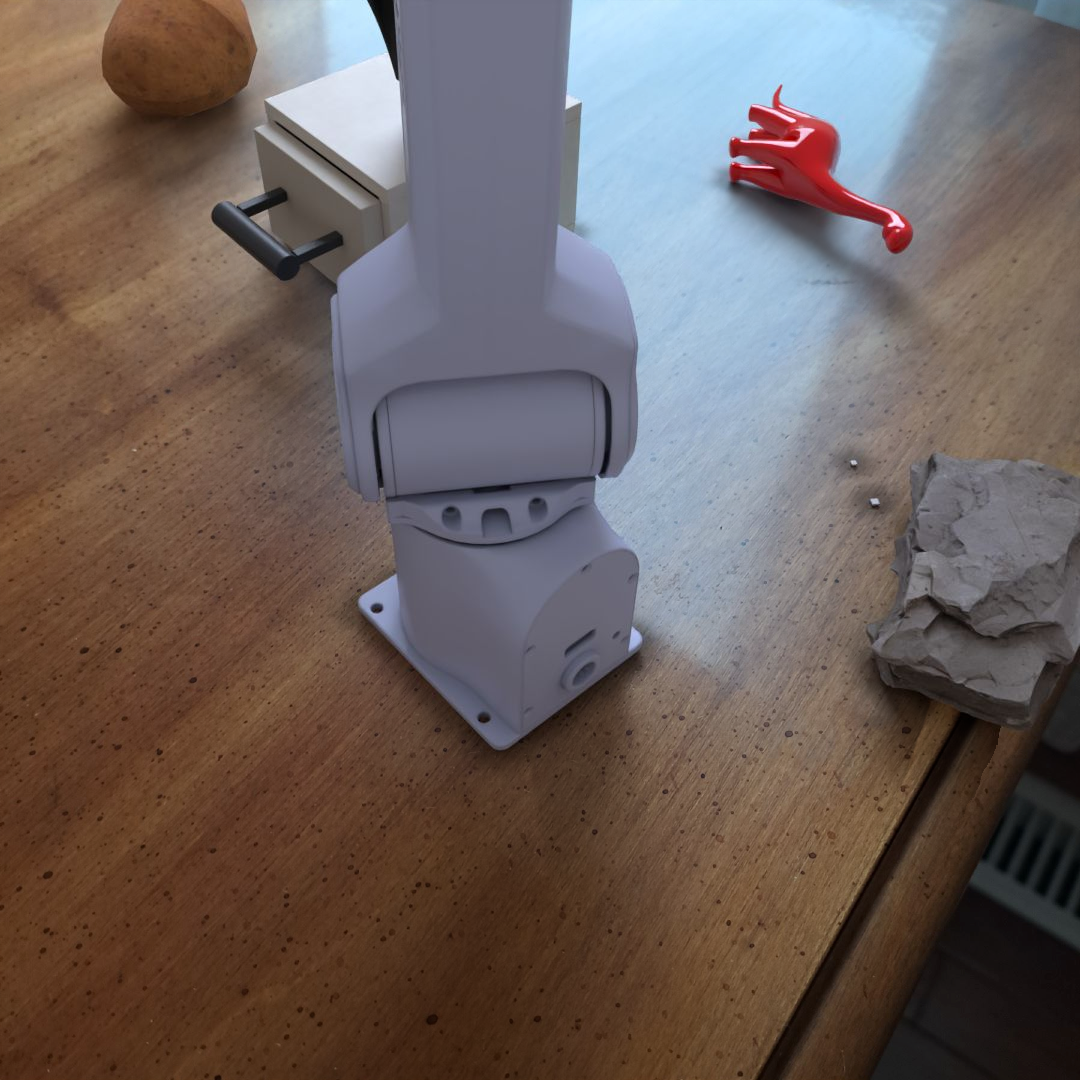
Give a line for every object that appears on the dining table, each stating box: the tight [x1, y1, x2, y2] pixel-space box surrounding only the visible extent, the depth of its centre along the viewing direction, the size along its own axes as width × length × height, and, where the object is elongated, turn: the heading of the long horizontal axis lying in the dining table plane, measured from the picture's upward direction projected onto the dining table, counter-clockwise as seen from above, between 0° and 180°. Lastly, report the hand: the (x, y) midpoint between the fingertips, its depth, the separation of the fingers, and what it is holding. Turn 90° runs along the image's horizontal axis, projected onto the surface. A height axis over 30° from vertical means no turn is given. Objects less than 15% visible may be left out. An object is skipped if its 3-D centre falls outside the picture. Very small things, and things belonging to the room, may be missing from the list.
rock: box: [865, 451, 1080, 731], centre depth 50 cm, size 14×9×4 cm
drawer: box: [210, 121, 384, 286], centre depth 63 cm, size 16×9×6 cm, turn 131°
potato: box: [101, 0, 259, 119], centre depth 74 cm, size 9×11×8 cm
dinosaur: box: [728, 84, 914, 255], centre depth 70 cm, size 4×15×12 cm
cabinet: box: [263, 51, 583, 241], centre depth 65 cm, size 13×11×8 cm
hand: (418, 82), depth 59 cm, fingers closed
